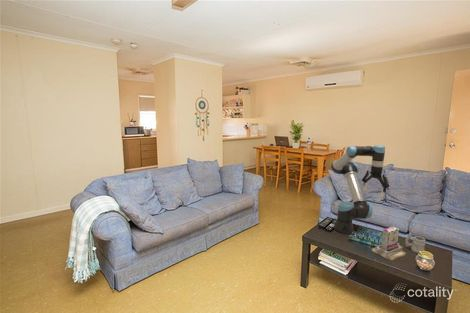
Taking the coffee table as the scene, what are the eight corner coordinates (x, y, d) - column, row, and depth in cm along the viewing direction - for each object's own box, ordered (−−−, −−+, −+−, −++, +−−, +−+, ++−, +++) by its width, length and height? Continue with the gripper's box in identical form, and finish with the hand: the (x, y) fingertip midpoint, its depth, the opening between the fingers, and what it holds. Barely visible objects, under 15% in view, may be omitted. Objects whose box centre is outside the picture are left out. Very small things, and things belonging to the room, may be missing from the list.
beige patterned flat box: (371, 250, 174) (372, 244, 174) (385, 245, 182) (386, 239, 181) (391, 261, 162) (392, 255, 161) (405, 254, 170) (406, 249, 169)
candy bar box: (389, 247, 177) (392, 226, 174) (396, 250, 172) (399, 229, 170) (379, 250, 172) (382, 228, 169) (386, 254, 167) (389, 232, 165)
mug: (423, 255, 170) (426, 239, 168) (403, 248, 178) (405, 233, 176) (424, 251, 175) (427, 235, 173) (405, 245, 183) (407, 230, 181)
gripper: (358, 163, 192) (355, 189, 196) (391, 170, 170) (387, 199, 174) (364, 162, 196) (361, 188, 199) (397, 169, 174) (393, 197, 177)
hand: (373, 193), depth 187 cm, fingers open, 13 cm apart
